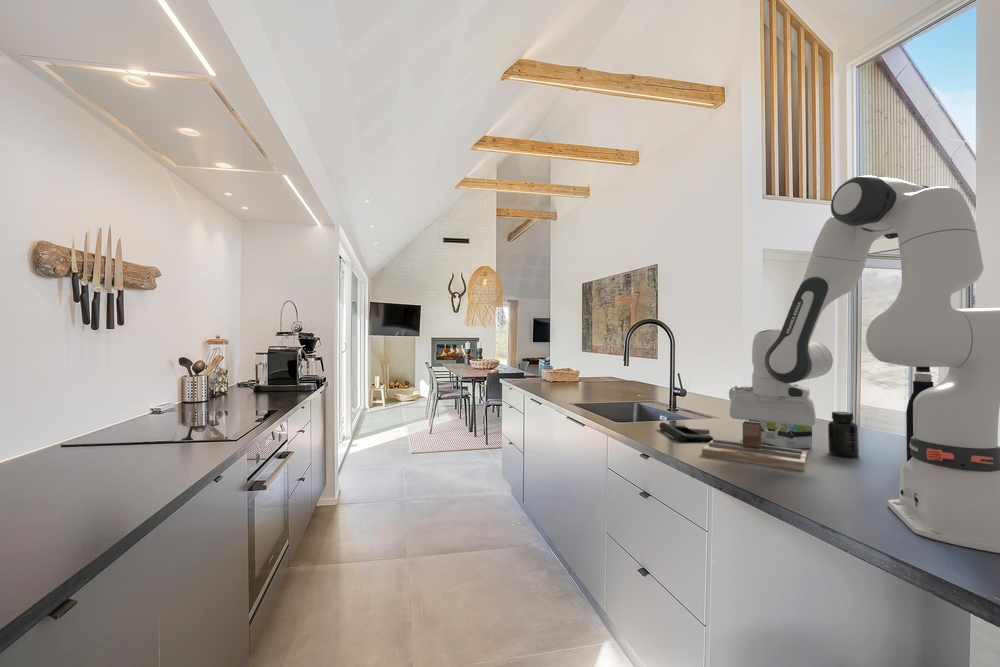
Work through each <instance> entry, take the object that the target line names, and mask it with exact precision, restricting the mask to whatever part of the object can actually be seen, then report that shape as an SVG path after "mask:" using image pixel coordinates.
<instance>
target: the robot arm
mask: <svg viewBox="0 0 1000 667" xmlns="http://www.w3.org/2000/svg"><path fill="white" fill-rule="evenodd" d="M830 211H831V214H832V216H831V217H829V218H828V219H827V220H826V221H825V222H824V224H823V226H822V228H821V230H820V232H819V234H818V236H817V238H816V241H815V243H814V245H813V247H812V252H811V255H810V258H809V261H808V264H807V268H806V270H805V273H804V276H803V278H802V281H801V283H800V285H799V288H798V289H797V291H796V293H795V296H794V298H793V300H792V302H791V305H790V308H789V310H788V313H787V315H786V317H785V320H784V323H783V325H782V328H774V329H764V330H761V331H759V332H757V333H756V334H755V335H754V337H753V340H752V349H751V361H752V362H751V363H752V364H753V365H752V366H753V372H752V376H751V380H752V381H751V382H752V383H751V384H752V386H740V385H735V386H734V387H731V388H730V389H729V392H728V398H729V400H730V404H729V416H730V418H731V419H735V420H744V421H749V420H753V421H760V426H761V427H762V429H763V430H764V432H765V438H771V439H777V438H778V431H779V430H780V429H781V427H782V423H784V424H794V425H804V426H812V427H813V426H814V425H816V423H817V416H816V410H815V404H814V401H813V400H812V398H810V397H809V396H810V393H811V392H810V389H809V388H808V387H806V386H803V385H799V384H797V382H801V381H804V380H810V379H811V380H812V379H816V378H820V377H821V376H824V375H826V374H827V373H829V371H830V370H831V369H832V366H833V360H834V358H833V356H832V353H831V351H830V349H829V348H828V347H827V346H826V345H823V343H820V342H819V343H818V342H815V341H811V339H812V338H813V334H814V332H815V330H816V327H817V325H818V322H819V319H820V317H821V314H822V312H823V311H825V309H826V308H827V307H828V306H829V305H830V304H831V303H832V302H834V301H835V300H837V299H838V298H840V297H842V296H844V295H846V294H848V293H850V292H851V291H852V290H853V289H855V287H856V286H857V283H858V282H859V280H860V278H861V276H862V274H863V271H864V269H865V265H866V262H867V258H868V255H869V252H870V249H871V247H872V245H873V243H874V242H876V240H877V239H880V237H883V236H884V237H885V238H886V239H887V240H888V239H889V240H892V239H895V238H897V241H898V242H897V243H898V250H899V257H900V266H901V267H900V268H901V283H900V284H901V285H900V290H899V292H898V295H896V296H897V297H896V298H895V300H894V301H893V303H891V305H890V306H889V307H888V308H887V309H886V310H884V311H883V312H882V313H880V314H878V315H877V316H876V317H875V318H874V319H872V320H871V322H870V323H869V325H868V327H867V329H866V333H865V342H866V346H867V348H868V350H869V352H870V354H871V355H872V356H873V357H874V358H875V359H877V360H878V361H879V362H881V363H887V364H891V365H897V366H903V367H904V366H905V367H913V368H916V367H930V368H948V372H947V374H946V376H945V378H944V379H943V380H942V381H941V382H940V383H938V384H936V385H933V386H934V387H931V388H928V389H926V390H924V391H922V392H921V393H919V394H918V395H917V396H916V398H915V399H914V402H913V436H912V437H911V440H910V454H911V455H912V458H911V459H910V460H909V461H908V462H907V461H906V462H904V463H903V464H901V465H900V468H899V470H900V471H899V497H898V498H899V499H888V500H887V507H888V508H889V509H890V510H891V511H892V512H893V513H894V514H895V515H896V516H897V517H898V518H899V519H900V520H901V521H902V522H903V523H904V524H905V525H906V526H907V527H908V528H909V529H910V530H911V531H912V532H913V533H915V534H916V535H920V536H922V537H926V538H928V539H932V540H936V541H939V542H943V543H947V544H952V545H956V546H960V547H965V548H971V549H974V550H980V551H985V552H990V553H995V554H1000V446H999V443H998V441H999V435H998V434H999V417H1000V416H999V415H1000V307H979V308H978V307H975V308H974V307H973V308H971V307H968V308H954V307H952V303H951V299H952V295H953V294H955V293H957V292H960V291H962V290H964V289H966V288H968V287H970V286H971V285H973V284H975V283H976V282H977V281H978V280H979V279H980V277H981V276H982V274H983V270H984V263H983V257H982V251H981V247H980V242H979V238H978V237H979V236H978V232H977V231H978V230H977V227H976V223H975V220H974V216H973V215H972V211H971V208H970V207H969V205H968V203H967V201H966V198H965V196H964V195H963V194H962V192H960V190H959V189H956V188H953V187H949V186H933V187H930V186H928V185H919V184H918V183H917V184H916V183H912V182H909V181H905V180H902V179H898V178H893V177H878V176H875V175H861V176H853V177H850V178H849V179H847V180H845V181H844V182H843V183H842V184H841V185H840V186H839V187H838V188H837V190H836V191H835V192H834V194H833V196H832V199H831V203H830ZM767 422H774V423H775V426H776V427H778V428H777V429H776V430H775V432H774V431H768V429H767V428H766V424H767Z"/></svg>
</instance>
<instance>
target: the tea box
mask: <svg viewBox="0 0 1000 667" xmlns="http://www.w3.org/2000/svg"><path fill="white" fill-rule="evenodd" d="M748 421H753V420H748ZM754 422H760V421H754ZM766 428H767V429H768V431H774V432H775V430H776V429H777V428H778V427H776V426H775V423H774V422H767V424H766ZM762 443H765V444H769V445H770V446H771V445H772V446H774V447H782V448H790V449H806V448H807V449H808V448H812V447H813V426H804V425H794V424H784V423H782V427H781V429H780V430H779V431H778V438H777V439H771V438H765V432H764V430H763V429H762Z"/></svg>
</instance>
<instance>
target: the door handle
mask: <svg viewBox="0 0 1000 667" xmlns="http://www.w3.org/2000/svg"><path fill="white" fill-rule="evenodd" d="M657 427H659V429H660V430H661V431H662V432H664V434H666V435H667V436H669V437H670V438H672V439H673V440H674V439H675V440H677V441H678V442H680V443H685V442H686V443H709V442H710V441H712V440H713V439H714V437H713V436H711V435H710V433H711V432H710V429H707V428H706V429H705V428H704V429H703V428H689V427H687V426H685V425H674V424H673V425H671V424H669V423H667V422H664V421H663V422H660V423H659V425H658V426H657Z"/></svg>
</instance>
